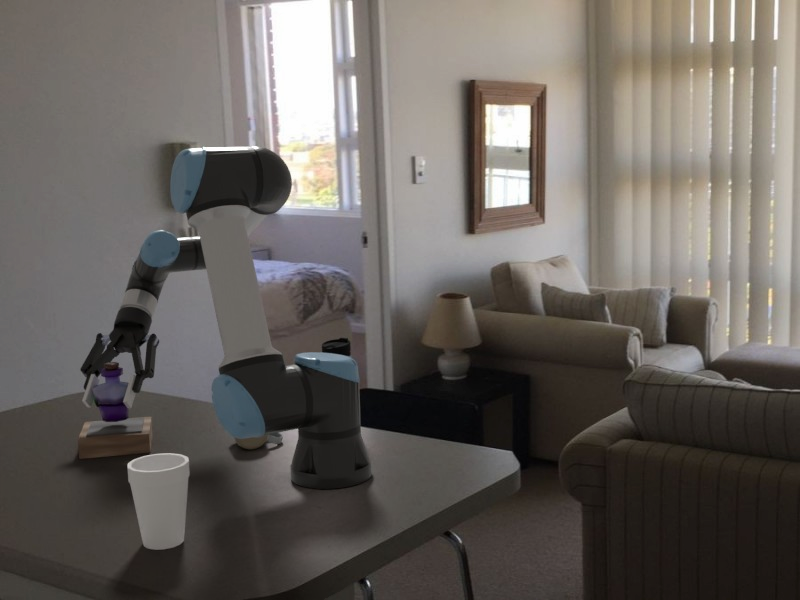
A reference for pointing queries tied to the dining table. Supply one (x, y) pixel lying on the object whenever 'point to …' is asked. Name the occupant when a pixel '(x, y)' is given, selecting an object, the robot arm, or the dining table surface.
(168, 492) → the foam cup
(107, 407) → the potion bottle
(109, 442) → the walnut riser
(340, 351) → the travel mug
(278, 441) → the ceramic mug
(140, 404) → the dining table surface
